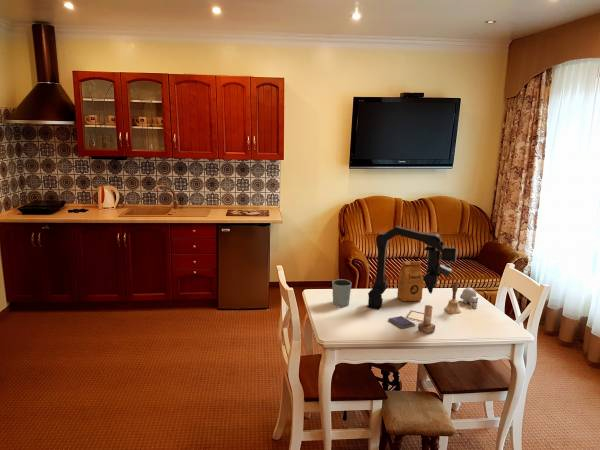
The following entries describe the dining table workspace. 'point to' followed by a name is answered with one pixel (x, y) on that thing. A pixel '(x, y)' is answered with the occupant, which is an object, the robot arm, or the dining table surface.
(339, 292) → the grey cup
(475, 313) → the dining table surface
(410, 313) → the marked card
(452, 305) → the hand bell
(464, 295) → the round bodied animal figurine
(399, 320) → the ink pad
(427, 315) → the stamp
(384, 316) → the dining table surface
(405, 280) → the coffee package
